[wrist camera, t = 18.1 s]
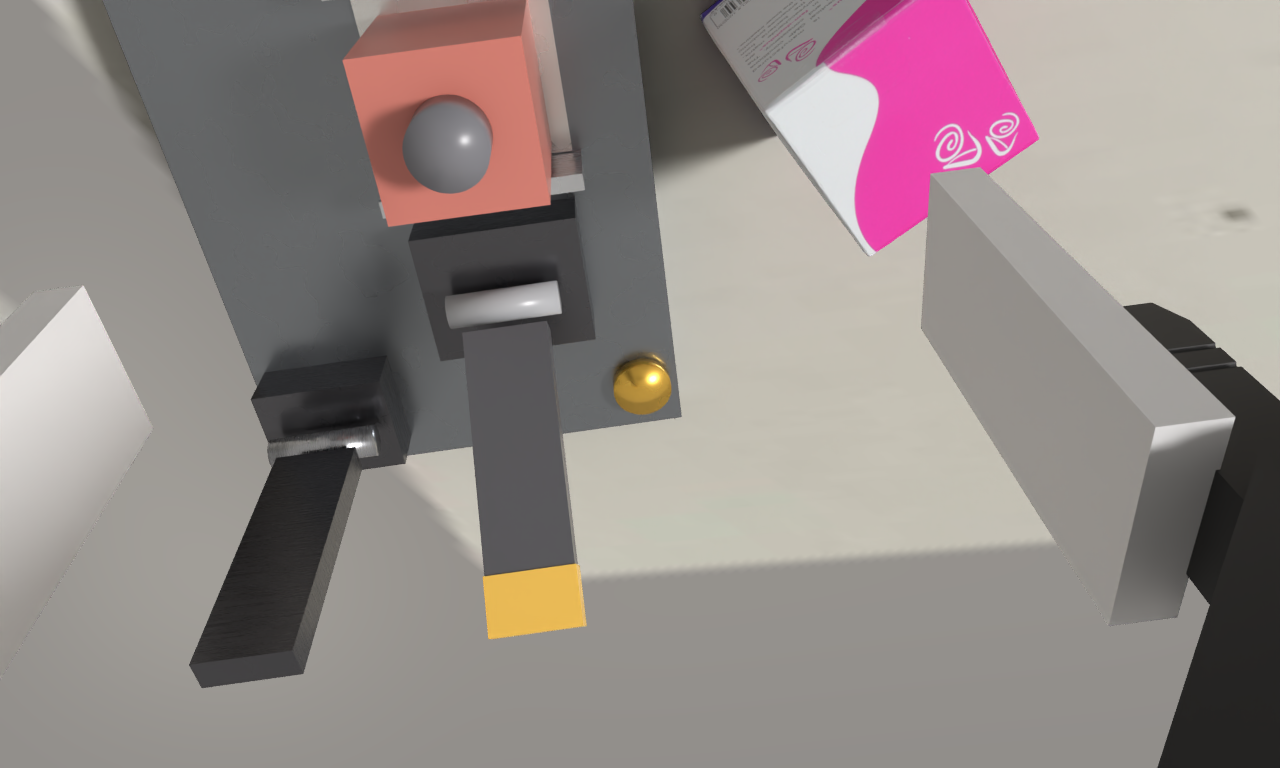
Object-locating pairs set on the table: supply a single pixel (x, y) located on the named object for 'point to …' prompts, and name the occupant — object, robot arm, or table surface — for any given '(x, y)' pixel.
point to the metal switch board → (386, 269)
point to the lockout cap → (453, 111)
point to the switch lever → (519, 461)
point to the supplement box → (874, 98)
